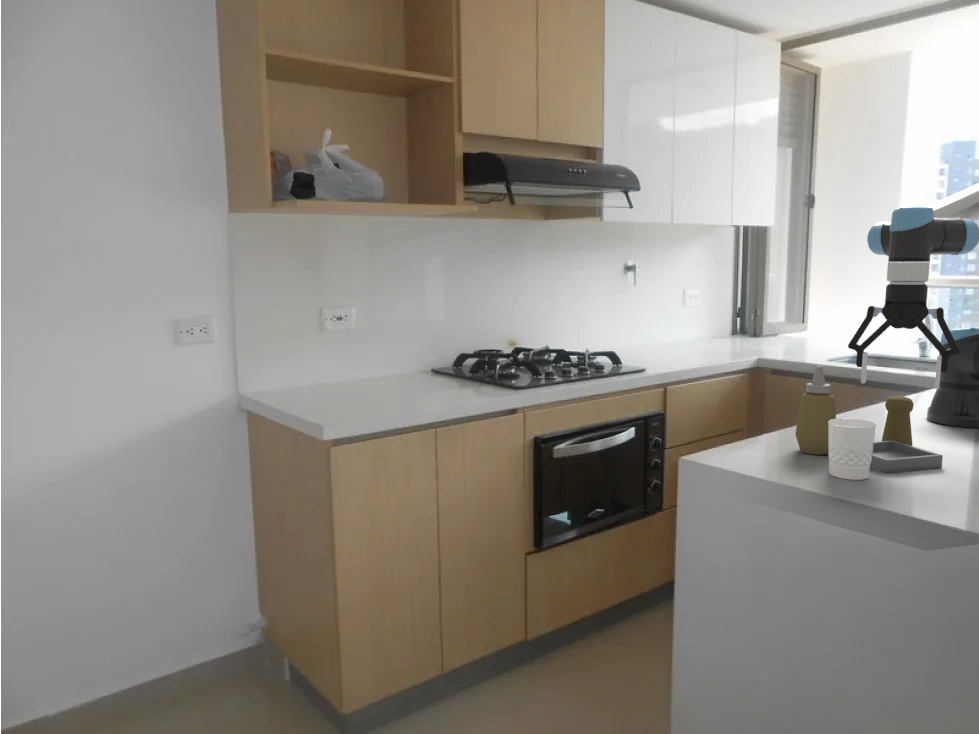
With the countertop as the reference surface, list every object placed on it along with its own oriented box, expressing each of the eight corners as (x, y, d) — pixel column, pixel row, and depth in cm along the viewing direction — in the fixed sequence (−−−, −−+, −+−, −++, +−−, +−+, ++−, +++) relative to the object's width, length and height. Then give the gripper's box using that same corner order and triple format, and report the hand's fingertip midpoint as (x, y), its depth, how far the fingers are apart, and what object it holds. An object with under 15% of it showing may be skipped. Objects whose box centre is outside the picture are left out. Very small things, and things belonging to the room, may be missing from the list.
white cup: (878, 482, 135) (881, 428, 134) (832, 480, 137) (834, 426, 135) (864, 470, 143) (867, 418, 142) (820, 468, 144) (823, 417, 143)
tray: (891, 451, 156) (892, 440, 155) (941, 467, 143) (942, 455, 143) (839, 456, 152) (840, 444, 152) (886, 473, 140) (887, 460, 140)
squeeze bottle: (808, 457, 152) (812, 370, 149) (786, 448, 160) (790, 364, 157) (844, 455, 153) (849, 368, 151) (821, 446, 161) (825, 363, 159)
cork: (917, 451, 156) (920, 399, 154) (885, 450, 157) (888, 399, 155) (907, 444, 161) (910, 394, 160) (876, 443, 163) (879, 393, 161)
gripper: (978, 283, 151) (969, 387, 154) (842, 282, 164) (836, 378, 167) (980, 284, 145) (970, 392, 148) (838, 282, 157) (832, 382, 160)
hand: (899, 385), depth 157 cm, fingers open, 13 cm apart
